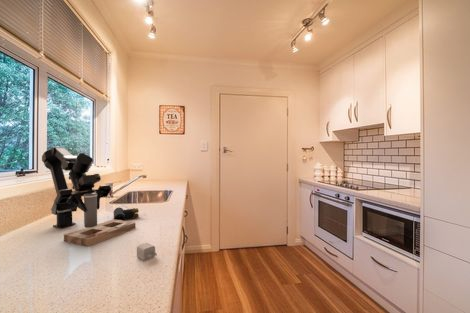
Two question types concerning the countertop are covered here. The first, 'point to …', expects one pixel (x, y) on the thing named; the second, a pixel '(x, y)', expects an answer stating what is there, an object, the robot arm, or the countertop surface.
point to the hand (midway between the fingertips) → (92, 210)
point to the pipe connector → (125, 214)
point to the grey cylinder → (90, 210)
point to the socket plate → (99, 232)
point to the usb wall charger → (146, 251)
